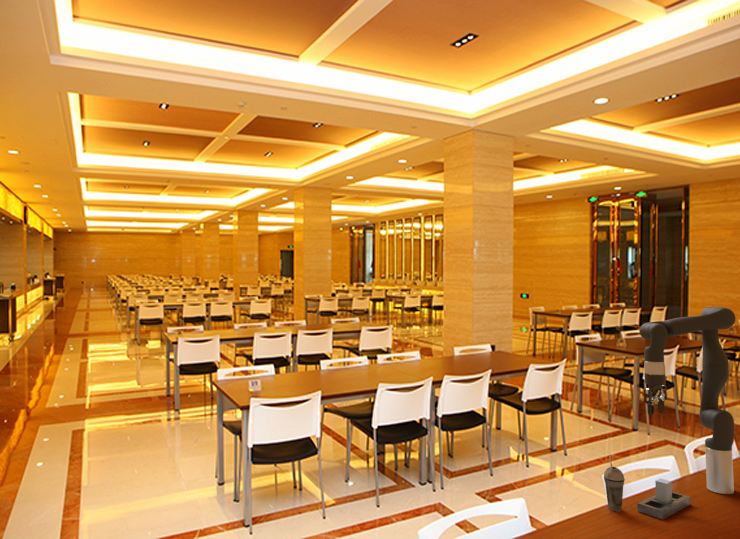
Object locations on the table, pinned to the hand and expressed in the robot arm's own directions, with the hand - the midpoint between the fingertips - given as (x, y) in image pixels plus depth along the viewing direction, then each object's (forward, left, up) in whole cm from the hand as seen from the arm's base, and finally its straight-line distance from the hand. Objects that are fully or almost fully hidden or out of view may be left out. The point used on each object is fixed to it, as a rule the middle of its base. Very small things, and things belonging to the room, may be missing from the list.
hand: (656, 412), depth 205 cm
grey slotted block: (+10, +7, -33) cm, 35 cm away
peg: (+10, +7, -33) cm, 35 cm away
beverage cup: (+26, -4, -33) cm, 42 cm away
